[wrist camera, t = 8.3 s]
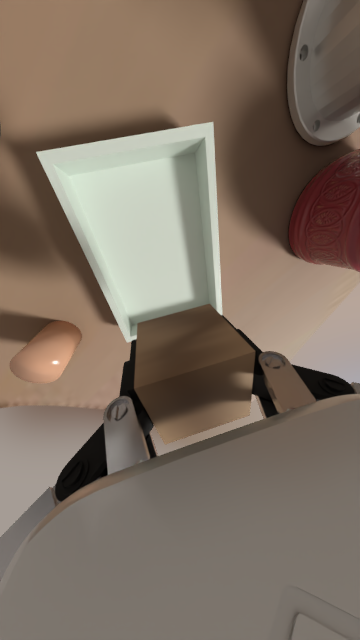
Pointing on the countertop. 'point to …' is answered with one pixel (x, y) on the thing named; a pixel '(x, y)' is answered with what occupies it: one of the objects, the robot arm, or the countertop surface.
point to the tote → (145, 219)
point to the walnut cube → (192, 372)
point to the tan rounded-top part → (47, 353)
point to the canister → (329, 216)
